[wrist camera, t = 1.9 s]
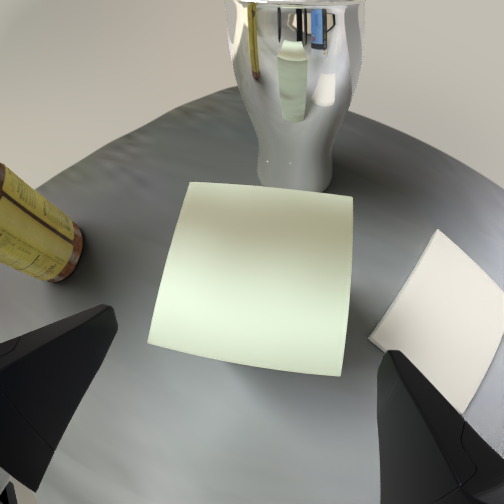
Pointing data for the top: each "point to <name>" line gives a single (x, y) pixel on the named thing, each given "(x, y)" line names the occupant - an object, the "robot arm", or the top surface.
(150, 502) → the top surface
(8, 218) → the sauce bottle
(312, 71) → the beer glass
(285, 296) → the sage block
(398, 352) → the robot arm
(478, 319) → the tile
